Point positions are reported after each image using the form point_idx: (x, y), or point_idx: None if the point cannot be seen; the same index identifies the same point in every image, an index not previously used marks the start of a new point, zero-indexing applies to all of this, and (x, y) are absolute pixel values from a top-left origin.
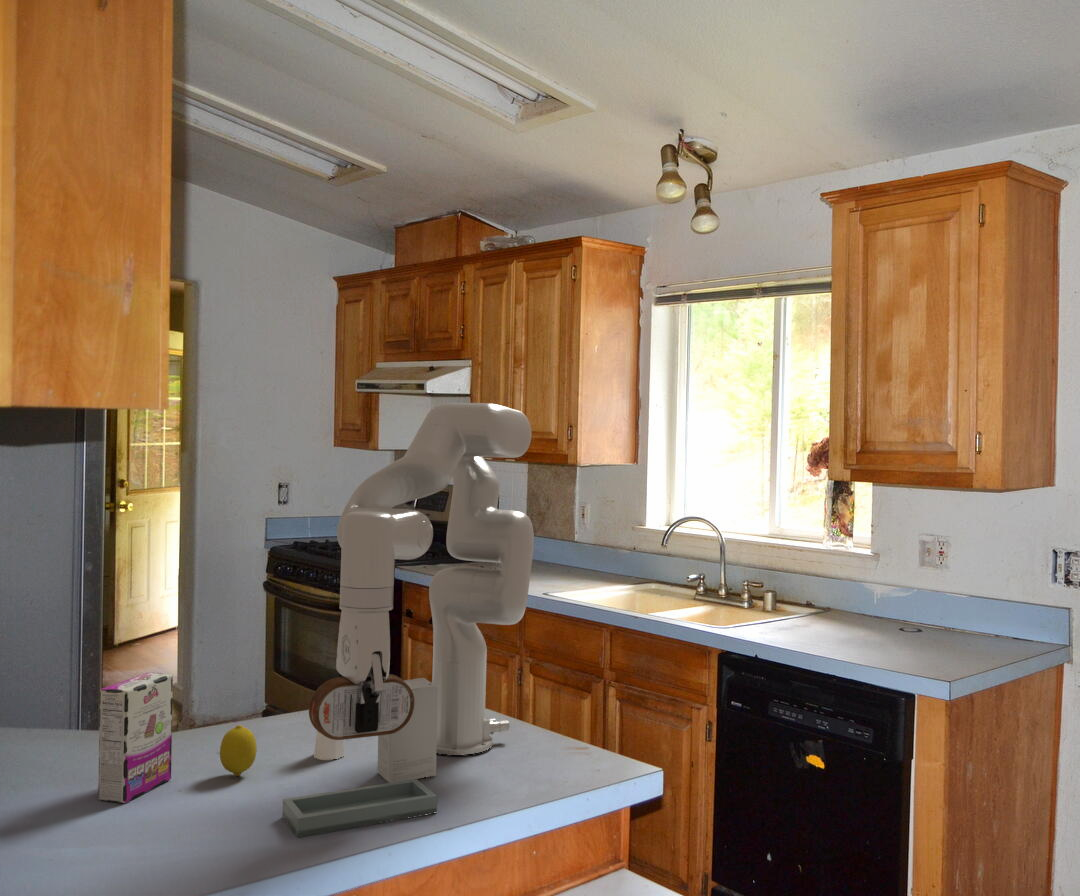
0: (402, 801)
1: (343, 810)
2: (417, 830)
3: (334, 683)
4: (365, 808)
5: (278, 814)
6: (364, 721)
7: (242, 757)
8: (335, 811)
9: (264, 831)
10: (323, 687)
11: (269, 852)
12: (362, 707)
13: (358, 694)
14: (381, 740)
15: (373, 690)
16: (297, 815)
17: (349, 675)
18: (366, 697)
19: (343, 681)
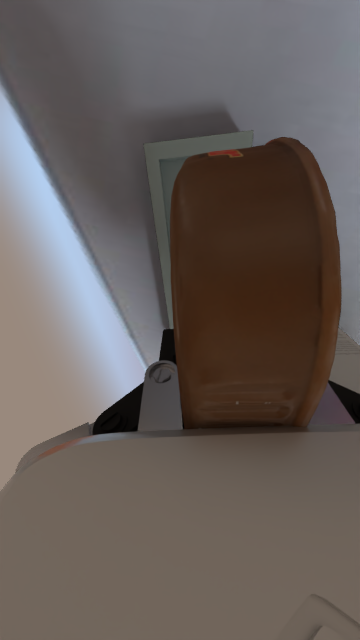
0: (168, 313)
1: (159, 234)
2: (134, 309)
3: (213, 342)
4: (161, 266)
5: (260, 132)
6: (162, 337)
7: None
8: (157, 220)
9: (194, 83)
10: (264, 247)
11: (97, 76)
12: (172, 360)
13: (176, 388)
14: (341, 346)
15: (48, 447)
16: (159, 145)
17: (153, 474)
18: (129, 399)
19: (207, 399)
